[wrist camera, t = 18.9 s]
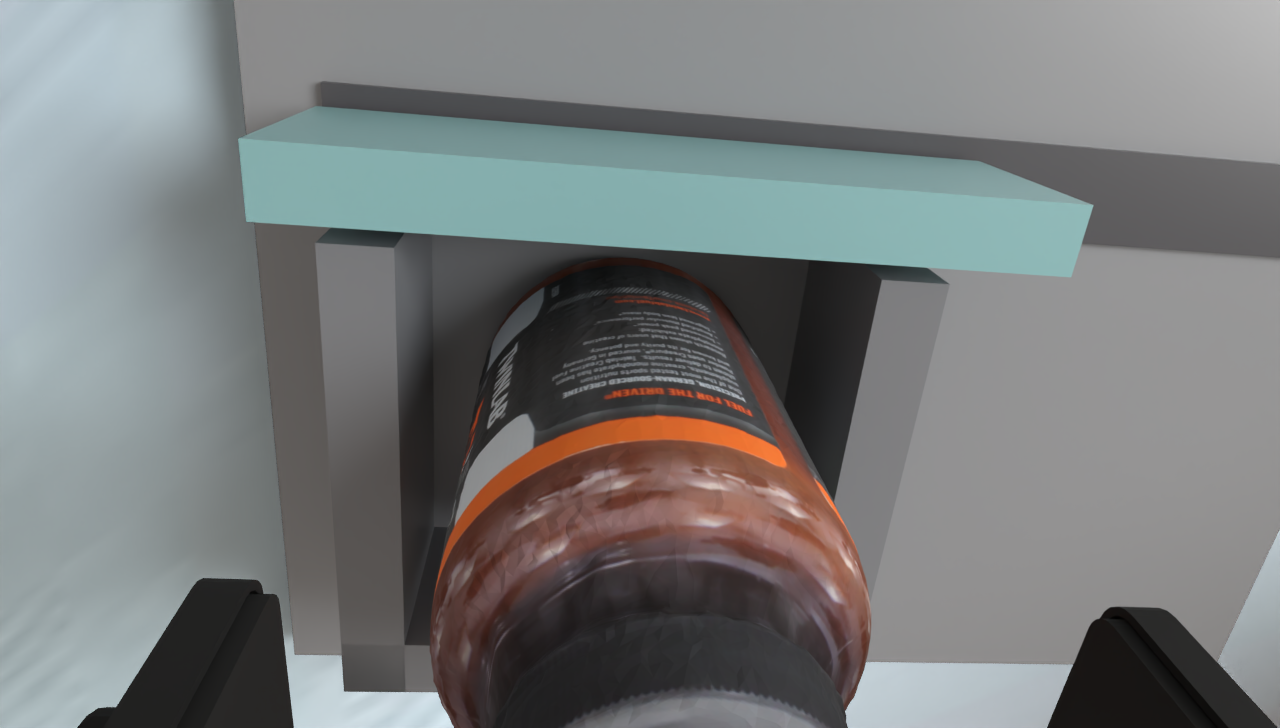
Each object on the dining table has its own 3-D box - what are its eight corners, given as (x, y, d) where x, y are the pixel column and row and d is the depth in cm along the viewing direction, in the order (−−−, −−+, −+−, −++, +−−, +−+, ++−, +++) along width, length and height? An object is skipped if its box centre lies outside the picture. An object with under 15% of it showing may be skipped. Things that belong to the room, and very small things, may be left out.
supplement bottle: (436, 310, 18) (252, 745, 7) (697, 205, 17) (892, 510, 7) (549, 524, 20) (530, 1079, 10) (781, 437, 20) (1019, 922, 9)
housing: (239, -166, 15) (93, -240, 10) (1488, -20, 18) (1809, -27, 13) (306, 627, 22) (237, 792, 17) (1191, 641, 25) (1332, 786, 20)
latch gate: (316, 106, 15) (238, 138, 12) (978, 160, 17) (1092, 204, 13) (319, 171, 16) (246, 221, 12) (964, 219, 17) (1071, 277, 14)
